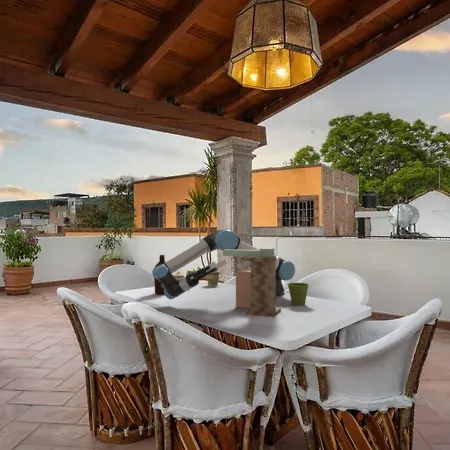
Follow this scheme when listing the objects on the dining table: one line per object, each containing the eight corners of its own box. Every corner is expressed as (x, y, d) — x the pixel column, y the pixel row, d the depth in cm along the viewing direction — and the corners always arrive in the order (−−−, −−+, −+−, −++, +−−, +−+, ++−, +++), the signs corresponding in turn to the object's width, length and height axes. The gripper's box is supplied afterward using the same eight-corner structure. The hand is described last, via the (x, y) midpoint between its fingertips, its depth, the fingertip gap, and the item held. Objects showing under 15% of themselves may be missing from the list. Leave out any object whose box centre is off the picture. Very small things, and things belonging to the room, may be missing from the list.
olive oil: (150, 293, 246) (150, 255, 246) (164, 291, 253) (164, 254, 253) (160, 295, 238) (159, 255, 238) (173, 293, 245) (173, 254, 245)
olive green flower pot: (203, 286, 276) (203, 272, 277) (210, 284, 285) (210, 270, 285) (219, 287, 270) (219, 273, 270) (225, 285, 279) (225, 271, 279)
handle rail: (221, 255, 194) (221, 248, 194) (226, 255, 199) (226, 247, 199) (271, 257, 184) (271, 248, 184) (274, 256, 189) (274, 248, 189)
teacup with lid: (174, 289, 262) (174, 272, 262) (170, 287, 270) (170, 271, 270) (191, 288, 267) (191, 271, 267) (186, 286, 276) (186, 270, 276)
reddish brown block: (235, 306, 203) (235, 271, 204) (244, 301, 216) (244, 268, 217) (261, 308, 198) (260, 272, 198) (268, 303, 211) (268, 269, 211)
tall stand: (241, 314, 185) (241, 257, 185) (250, 308, 198) (250, 255, 198) (273, 317, 179) (273, 257, 179) (280, 310, 192) (280, 255, 192)
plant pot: (283, 303, 210) (283, 283, 210) (301, 302, 215) (301, 282, 215) (295, 307, 199) (295, 286, 200) (313, 305, 204) (313, 284, 204)
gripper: (202, 284, 215) (232, 266, 208) (181, 291, 192) (214, 271, 185) (196, 272, 216) (226, 254, 209) (174, 278, 193) (207, 258, 186)
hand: (220, 262), depth 197 cm, fingers open, 13 cm apart
